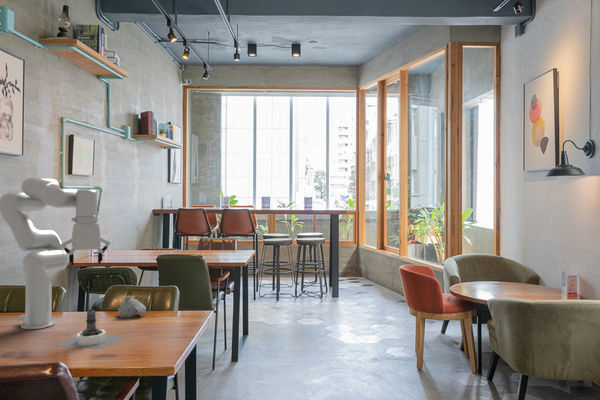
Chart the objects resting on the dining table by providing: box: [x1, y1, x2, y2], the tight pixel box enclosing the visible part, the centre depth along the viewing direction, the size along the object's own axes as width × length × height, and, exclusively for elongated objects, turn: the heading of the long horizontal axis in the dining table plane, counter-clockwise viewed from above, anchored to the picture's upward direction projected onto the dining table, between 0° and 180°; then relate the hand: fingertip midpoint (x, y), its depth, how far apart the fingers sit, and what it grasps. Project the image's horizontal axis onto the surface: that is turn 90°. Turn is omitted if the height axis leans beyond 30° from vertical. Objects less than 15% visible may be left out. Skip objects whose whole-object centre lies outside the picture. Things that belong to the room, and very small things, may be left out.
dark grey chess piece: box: [81, 307, 100, 336], centre depth 164 cm, size 6×6×12 cm
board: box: [56, 335, 124, 350], centre depth 164 cm, size 18×14×1 cm
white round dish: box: [76, 328, 107, 345], centre depth 164 cm, size 9×9×3 cm
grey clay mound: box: [117, 295, 147, 319], centre depth 204 cm, size 12×12×11 cm
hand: (85, 263), depth 174 cm, fingers open, 9 cm apart
